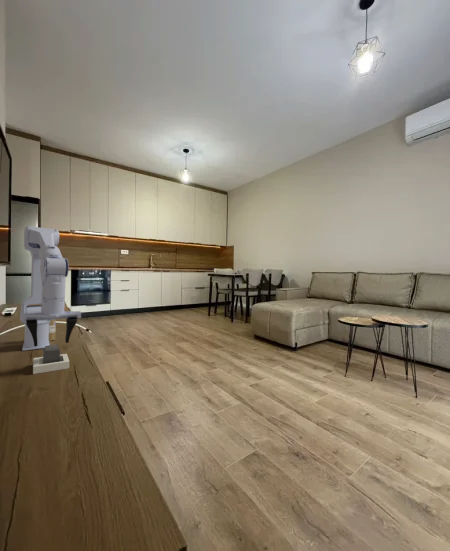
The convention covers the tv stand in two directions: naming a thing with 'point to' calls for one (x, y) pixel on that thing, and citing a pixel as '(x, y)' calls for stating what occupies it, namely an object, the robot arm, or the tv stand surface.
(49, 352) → the stepped grey plug block
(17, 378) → the tv stand surface
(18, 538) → the tv stand surface
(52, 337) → the sprinkles bottle
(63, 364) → the socket block
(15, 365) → the tv stand surface
